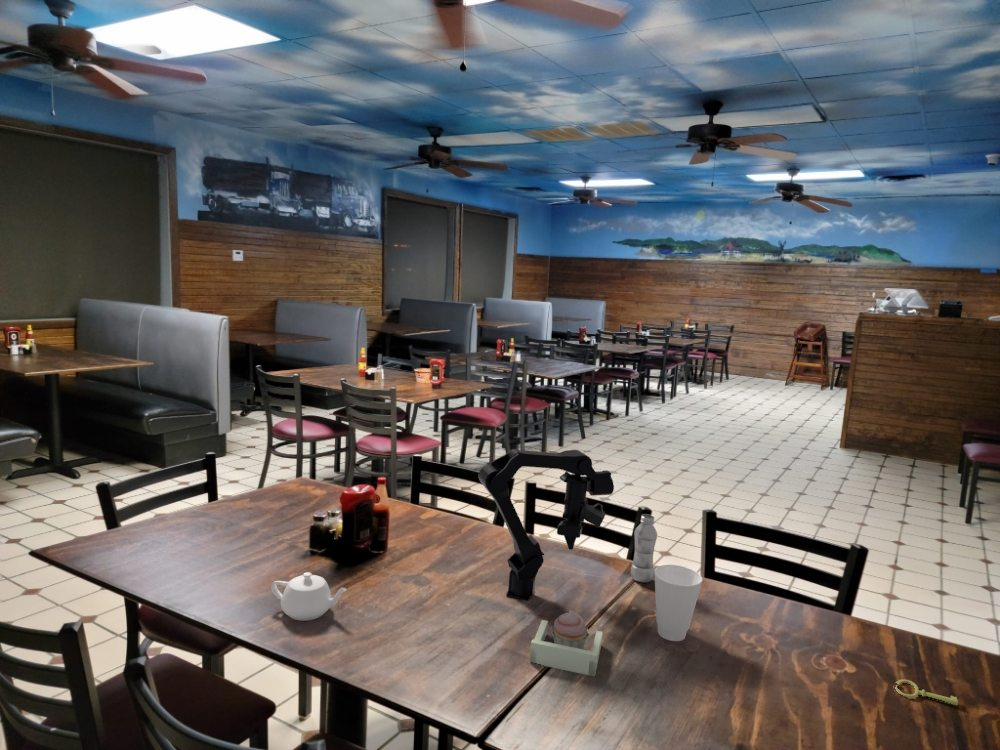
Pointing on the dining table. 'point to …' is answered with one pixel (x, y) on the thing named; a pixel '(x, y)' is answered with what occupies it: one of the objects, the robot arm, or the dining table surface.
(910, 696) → the key
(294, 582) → the teapot
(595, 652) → the pocket
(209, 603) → the dining table surface
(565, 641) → the cupcake
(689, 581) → the cup
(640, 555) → the plastic bottle
